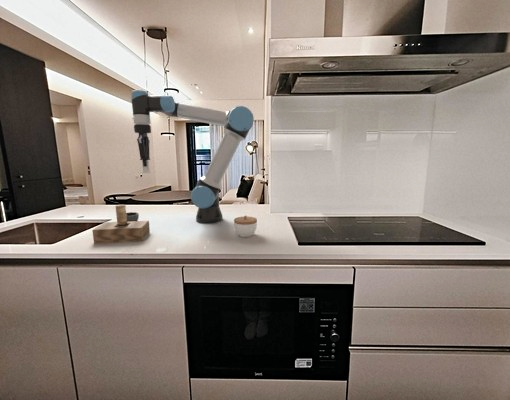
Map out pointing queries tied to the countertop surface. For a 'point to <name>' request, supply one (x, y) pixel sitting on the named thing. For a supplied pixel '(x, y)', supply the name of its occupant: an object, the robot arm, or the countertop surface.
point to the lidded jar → (245, 226)
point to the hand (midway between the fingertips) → (146, 172)
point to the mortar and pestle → (132, 216)
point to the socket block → (121, 232)
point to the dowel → (121, 215)
